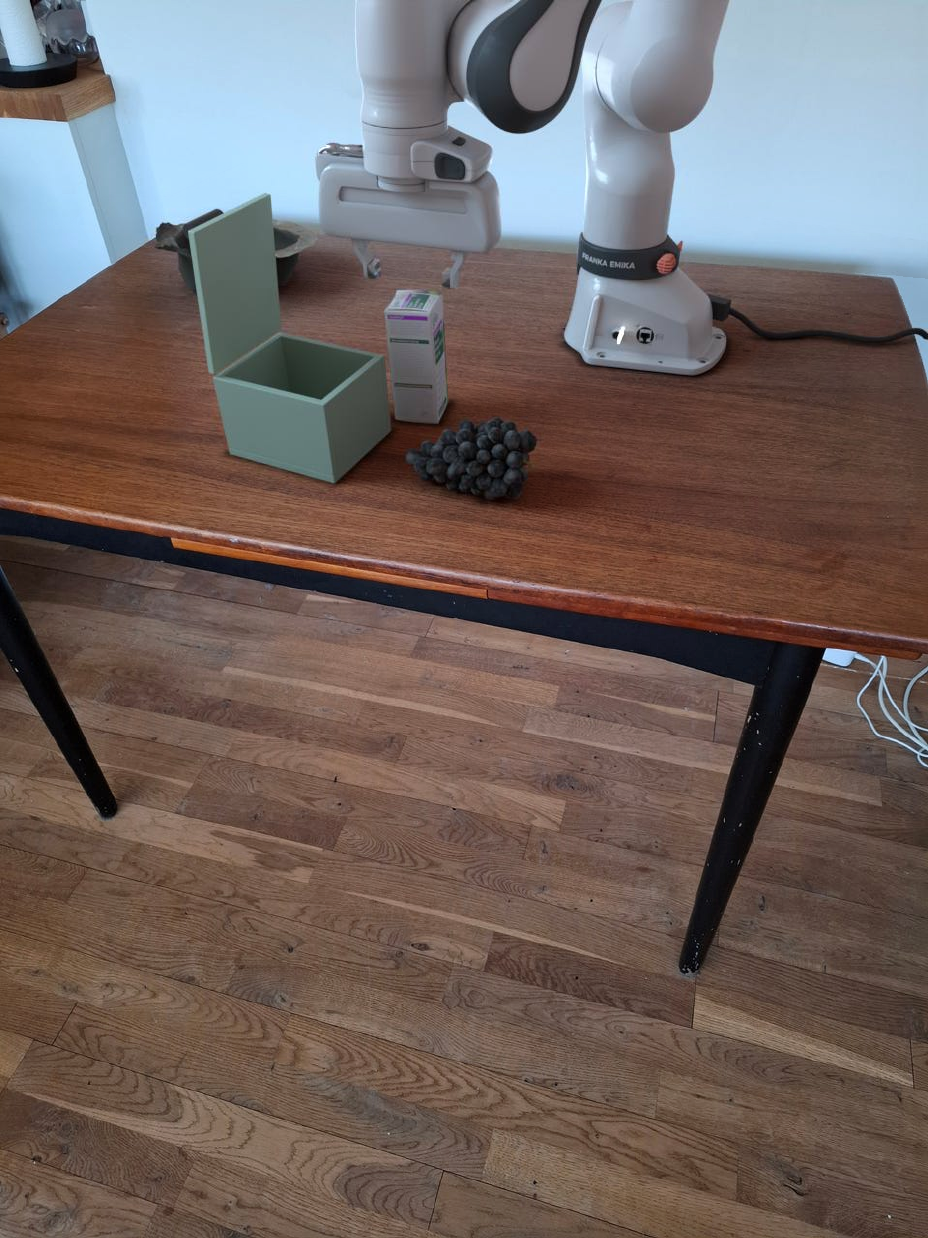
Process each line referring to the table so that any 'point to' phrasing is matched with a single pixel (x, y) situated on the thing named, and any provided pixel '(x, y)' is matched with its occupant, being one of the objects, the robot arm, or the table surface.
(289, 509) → the table surface
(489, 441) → the fruit
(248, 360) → the chest
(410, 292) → the syrup box
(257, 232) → the lid
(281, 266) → the stone bowl
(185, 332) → the table surface
